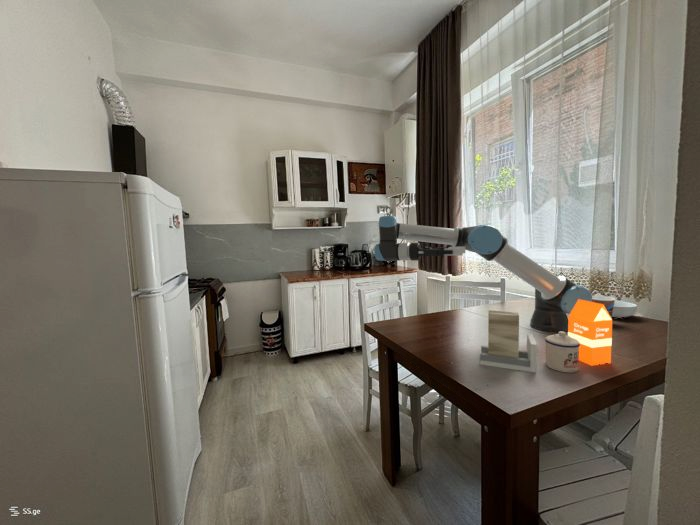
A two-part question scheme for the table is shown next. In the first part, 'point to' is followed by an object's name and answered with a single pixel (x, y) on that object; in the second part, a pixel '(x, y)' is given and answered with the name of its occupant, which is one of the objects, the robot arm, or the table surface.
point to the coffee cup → (605, 302)
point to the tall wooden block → (503, 333)
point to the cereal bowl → (623, 309)
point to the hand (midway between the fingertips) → (464, 250)
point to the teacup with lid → (562, 352)
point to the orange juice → (591, 332)
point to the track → (522, 363)
